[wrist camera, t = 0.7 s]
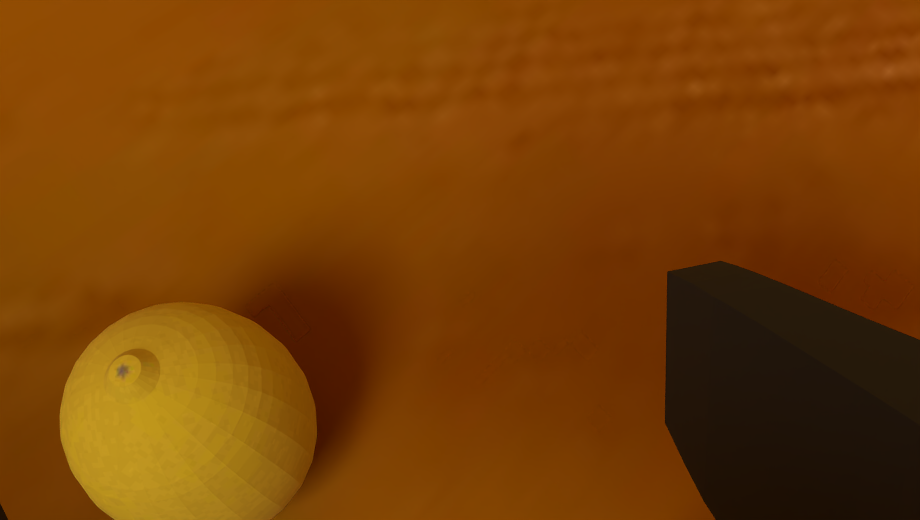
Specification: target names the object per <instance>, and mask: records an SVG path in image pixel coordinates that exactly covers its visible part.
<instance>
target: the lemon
mask: <svg viewBox="0 0 920 520" xmlns="http://www.w3.org/2000/svg"><path fill="white" fill-rule="evenodd" d="M60 436H61V442H62V446H63V449H64V451H65V454H66V457H67V460H68V463H69V466H70V469H71V471H72V473H73V475H74V476H75V478H76V479H77V480H78V482H79V483H80V485H81V486H82V487H83V489H84V490H85V492H86V493H87V494H88V496H89V497H90V498H91V500H92V501H93V502H94V503H95V504H96V505H97V506H98V507H99V508H100V509H101V510H102V511H103V512H105V513H106V514H108V515H109V516H110V517H112V518H113V519H114V520H271V519H272V518H273V517H274V516H276V515H277V514H278V513H279V512H280V511H282V510H283V509H284V508H285V507H286V506H287V504H288V503H289V502H290V500H291V499H292V498H293V496H294V495H295V494H296V492H297V491H298V490H299V489H300V487H301V486H302V484H303V481H304V479H305V477H306V475H307V472H308V470H309V468H310V466H311V463H312V460H313V455H314V450H315V445H316V439H317V422H316V407H315V403H314V400H313V397H312V394H311V391H310V388H309V385H308V382H307V379H306V377H305V375H304V373H303V371H302V370H301V368H300V367H299V366H298V364H297V363H296V361H295V360H294V358H293V357H292V356H291V354H290V353H289V351H288V350H287V348H286V347H285V346H284V345H283V344H282V343H281V342H280V341H278V340H277V339H276V338H275V337H273V336H272V335H271V334H270V333H268V332H267V331H266V330H265V329H263V328H262V327H261V326H260V325H258V324H257V323H255V322H253V321H252V320H250V319H248V318H245V317H243V316H240V315H238V314H235V313H233V312H231V311H228V310H226V309H223V308H221V307H218V306H214V305H208V304H200V303H192V302H174V303H165V304H157V305H154V306H151V307H148V308H145V309H142V310H139V311H136V312H134V313H131V314H128V315H127V316H125V317H123V318H122V319H120V320H118V321H117V322H115V323H113V324H112V325H110V326H108V327H107V328H106V329H105V330H104V331H103V332H102V333H101V334H100V335H99V336H97V337H96V338H95V339H94V340H93V341H92V342H91V343H90V344H89V345H88V347H87V348H86V349H85V351H84V352H83V353H82V355H81V356H80V357H79V359H78V360H77V361H76V363H75V365H74V367H73V369H72V372H71V374H70V376H69V378H68V380H67V383H66V385H65V389H64V394H63V399H62V403H61V408H60Z"/></svg>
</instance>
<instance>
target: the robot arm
mask: <svg viewBox="0 0 920 520" xmlns="http://www.w3.org/2000/svg"><path fill="white" fill-rule="evenodd" d="M665 424H666V426H667V428H668V430H669V432H670V434H671V436H672V438H673V440H674V443H675V445H676V447H677V449H678V451H679V453H680V455H681V457H682V459H683V461H684V463H685V466H686V467H687V469H688V471H689V473H690V475H691V477H692V479H693V481H694V483H695V485H696V487H697V489H698V491H699V493H700V495H701V497H702V498H703V500H704V502H705V504H706V505H707V507H708V508H709V510H710V511H711V513H712V514H713V516H714V517H715V519H716V520H920V340H918V339H916V338H913V337H911V336H908V335H906V334H903V333H901V332H898V331H896V330H893V329H891V328H888V327H886V326H884V325H881V324H879V323H876V322H874V321H871V320H869V319H866V318H864V317H862V316H859V315H857V314H854V313H852V312H850V311H847V310H845V309H842V308H840V307H838V306H835V305H833V304H831V303H828V302H826V301H823V300H821V299H819V298H816V297H814V296H811V295H809V294H807V293H804V292H802V291H800V290H797V289H795V288H792V287H790V286H787V285H785V284H783V283H780V282H778V281H775V280H773V279H770V278H768V277H765V276H763V275H760V274H758V273H755V272H752V271H750V270H747V269H744V268H741V267H739V266H735V265H732V264H729V263H726V262H723V261H718V262H713V263H708V264H703V265H698V266H693V267H688V268H683V269H678V270H673V271H668V272H667V331H666V392H665ZM0 520H8V519H7V517H6V514H5V512H4V510H3V508H2V506H1V504H0Z"/></svg>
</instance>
